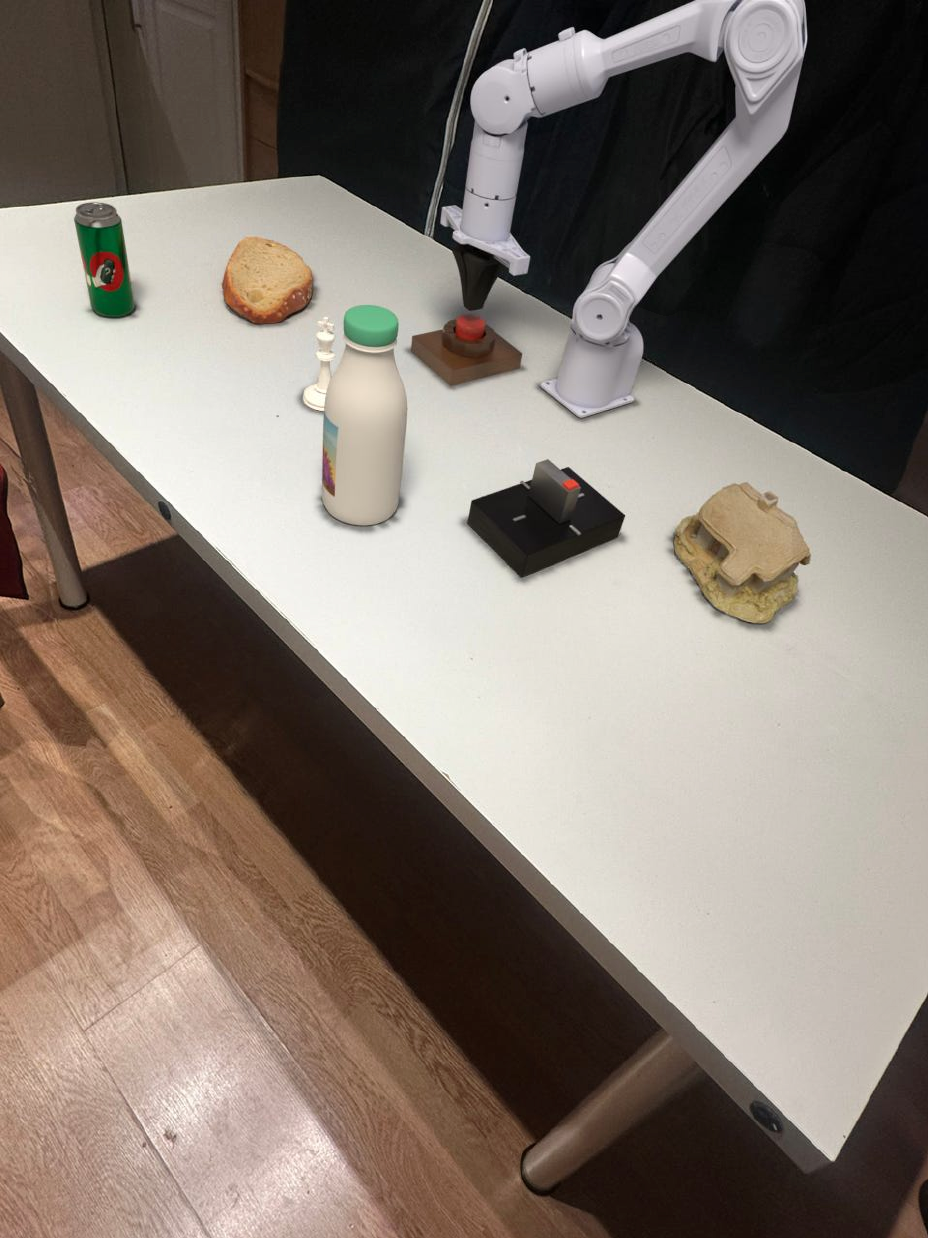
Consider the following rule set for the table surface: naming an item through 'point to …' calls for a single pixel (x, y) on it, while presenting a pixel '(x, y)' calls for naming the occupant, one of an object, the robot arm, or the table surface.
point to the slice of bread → (266, 281)
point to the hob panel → (542, 526)
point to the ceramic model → (743, 552)
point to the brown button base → (465, 354)
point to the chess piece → (321, 367)
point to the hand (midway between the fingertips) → (473, 307)
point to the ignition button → (470, 327)
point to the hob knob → (554, 491)
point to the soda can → (104, 259)
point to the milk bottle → (364, 421)
